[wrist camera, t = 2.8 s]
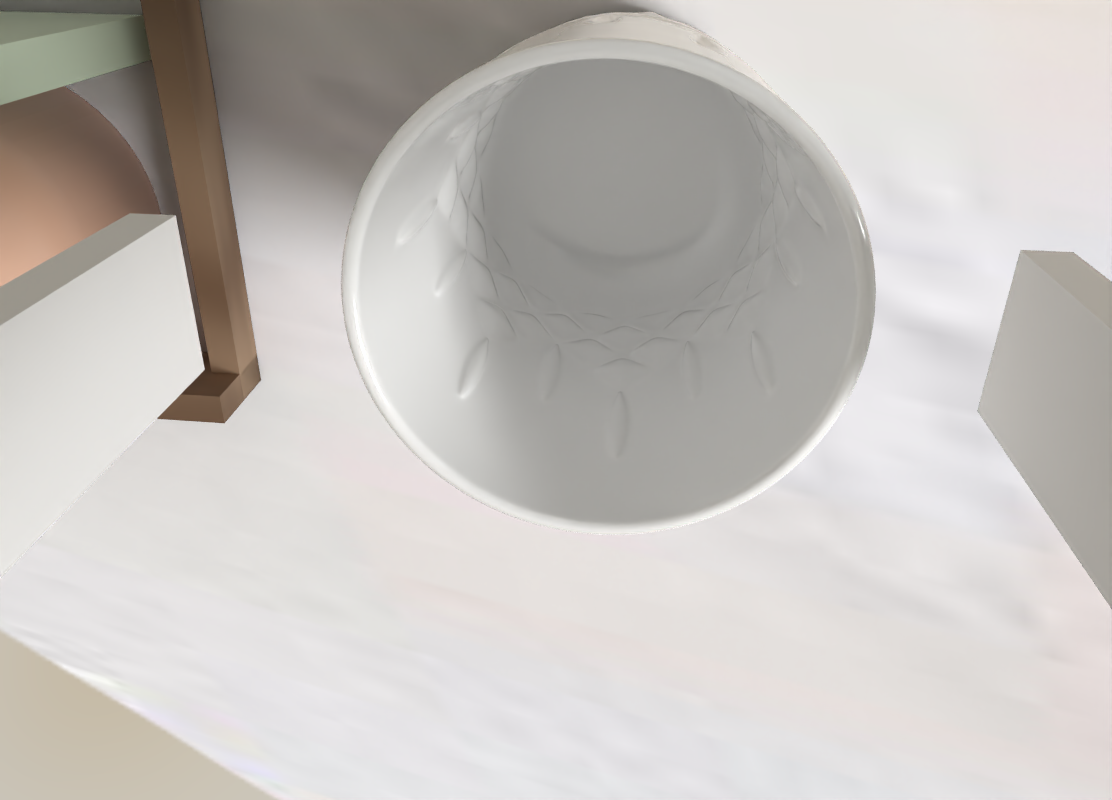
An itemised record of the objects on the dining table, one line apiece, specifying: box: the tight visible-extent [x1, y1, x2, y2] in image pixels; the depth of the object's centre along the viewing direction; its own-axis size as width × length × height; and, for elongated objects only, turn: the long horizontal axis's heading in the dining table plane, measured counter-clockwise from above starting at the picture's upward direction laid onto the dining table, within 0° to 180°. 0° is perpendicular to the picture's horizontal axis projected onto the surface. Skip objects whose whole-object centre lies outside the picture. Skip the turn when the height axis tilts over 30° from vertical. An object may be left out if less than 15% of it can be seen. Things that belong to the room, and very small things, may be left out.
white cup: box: [341, 11, 876, 535], centre depth 18 cm, size 8×8×10 cm
